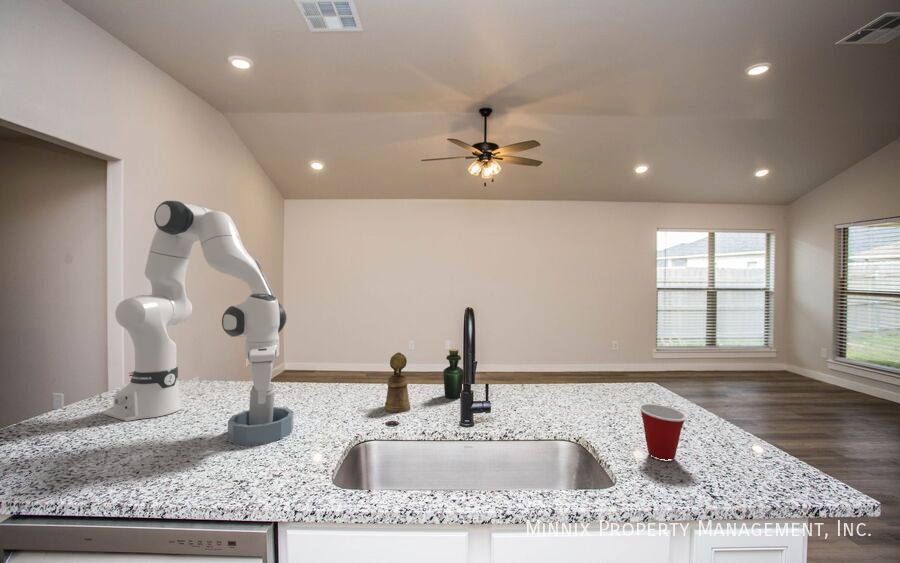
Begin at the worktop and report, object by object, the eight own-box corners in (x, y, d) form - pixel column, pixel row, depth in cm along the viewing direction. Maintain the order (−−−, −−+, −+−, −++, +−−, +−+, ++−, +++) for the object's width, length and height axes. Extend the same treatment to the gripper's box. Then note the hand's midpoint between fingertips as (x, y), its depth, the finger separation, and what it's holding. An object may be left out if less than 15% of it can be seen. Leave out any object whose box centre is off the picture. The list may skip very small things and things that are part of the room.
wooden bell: (410, 400, 145) (411, 352, 145) (410, 412, 131) (410, 359, 131) (386, 400, 144) (386, 352, 144) (383, 413, 130) (384, 359, 130)
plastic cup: (686, 471, 91) (687, 420, 91) (636, 459, 97) (636, 411, 97) (687, 454, 100) (687, 407, 101) (641, 444, 106) (641, 400, 106)
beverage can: (262, 432, 111) (264, 394, 108) (243, 426, 112) (245, 388, 110) (277, 421, 117) (280, 384, 114) (259, 415, 118) (261, 379, 116)
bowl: (214, 441, 106) (214, 423, 106) (258, 420, 122) (258, 404, 122) (265, 448, 102) (265, 429, 102) (304, 426, 117) (304, 409, 117)
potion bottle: (447, 392, 155) (448, 347, 155) (466, 395, 152) (467, 349, 152) (439, 398, 148) (439, 350, 148) (459, 400, 144) (459, 352, 145)
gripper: (251, 345, 120) (250, 390, 120) (248, 357, 101) (248, 410, 101) (274, 344, 122) (273, 388, 122) (275, 355, 104) (274, 407, 104)
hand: (262, 398), depth 112 cm, fingers open, 8 cm apart
